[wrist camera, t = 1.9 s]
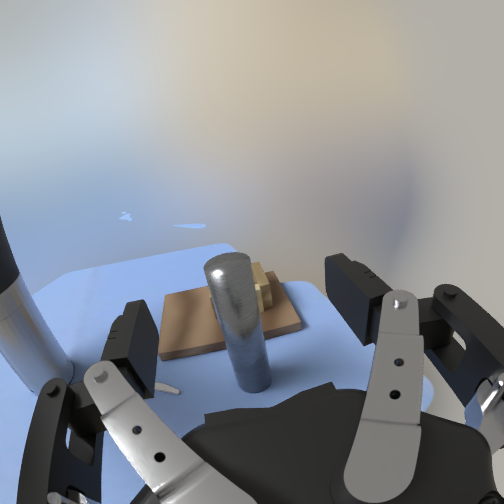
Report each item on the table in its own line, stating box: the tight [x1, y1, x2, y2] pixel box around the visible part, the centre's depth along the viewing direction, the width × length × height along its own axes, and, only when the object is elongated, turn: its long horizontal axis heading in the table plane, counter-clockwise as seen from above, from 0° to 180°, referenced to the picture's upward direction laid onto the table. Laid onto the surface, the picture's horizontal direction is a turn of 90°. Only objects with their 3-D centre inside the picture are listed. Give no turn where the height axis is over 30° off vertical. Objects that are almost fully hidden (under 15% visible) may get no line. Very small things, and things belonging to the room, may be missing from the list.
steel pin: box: [204, 252, 271, 393], centre depth 27 cm, size 4×4×16 cm
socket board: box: [158, 262, 302, 361], centre depth 41 cm, size 20×15×6 cm
